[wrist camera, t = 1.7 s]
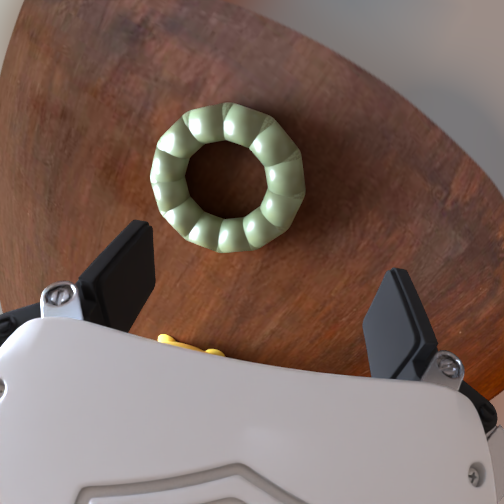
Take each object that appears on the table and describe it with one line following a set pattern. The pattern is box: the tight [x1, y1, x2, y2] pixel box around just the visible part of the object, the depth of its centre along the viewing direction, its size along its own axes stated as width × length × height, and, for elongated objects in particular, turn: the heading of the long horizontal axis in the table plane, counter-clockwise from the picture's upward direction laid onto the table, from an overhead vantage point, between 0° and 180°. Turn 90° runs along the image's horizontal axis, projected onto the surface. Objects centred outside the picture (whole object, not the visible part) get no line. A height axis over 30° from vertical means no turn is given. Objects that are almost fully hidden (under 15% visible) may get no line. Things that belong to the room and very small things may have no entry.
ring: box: [150, 102, 306, 253], centre depth 19 cm, size 10×10×2 cm
